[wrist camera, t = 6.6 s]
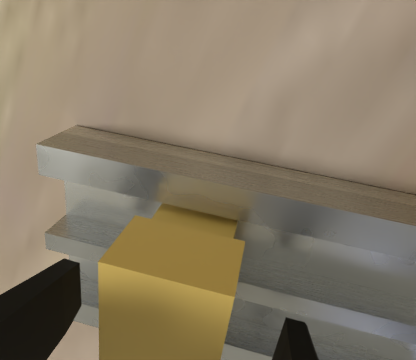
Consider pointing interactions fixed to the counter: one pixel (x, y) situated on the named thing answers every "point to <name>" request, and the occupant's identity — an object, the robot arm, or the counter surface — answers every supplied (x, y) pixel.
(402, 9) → the counter surface
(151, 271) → the yellow block with ridge
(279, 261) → the rail
